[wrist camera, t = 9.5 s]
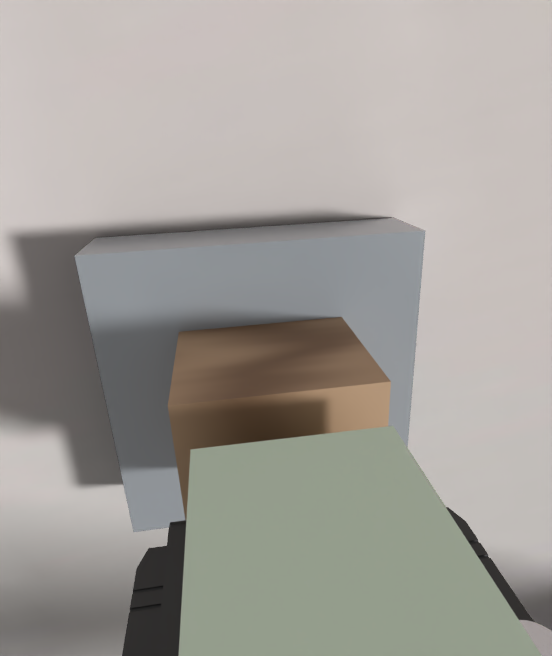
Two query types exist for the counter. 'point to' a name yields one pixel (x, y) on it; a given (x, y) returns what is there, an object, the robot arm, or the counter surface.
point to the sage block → (332, 556)
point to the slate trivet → (236, 319)
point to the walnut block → (271, 386)
